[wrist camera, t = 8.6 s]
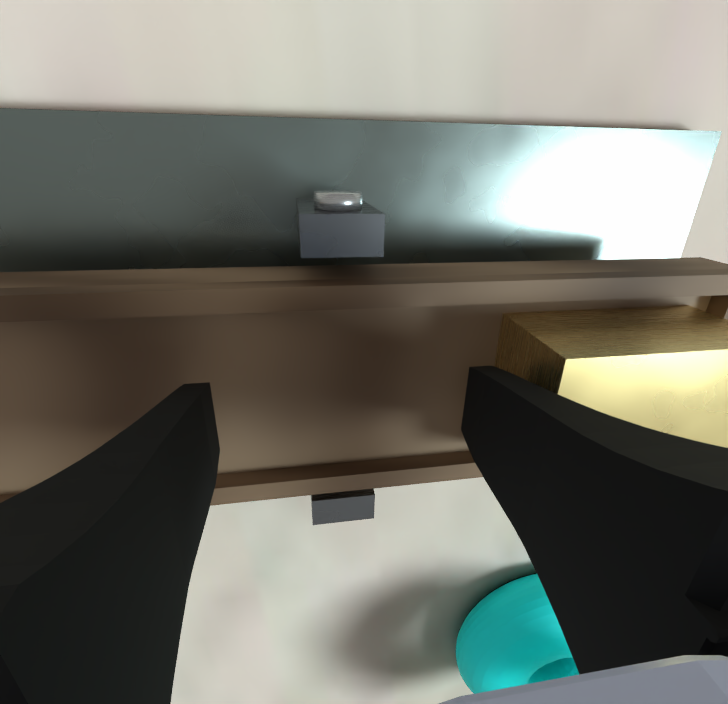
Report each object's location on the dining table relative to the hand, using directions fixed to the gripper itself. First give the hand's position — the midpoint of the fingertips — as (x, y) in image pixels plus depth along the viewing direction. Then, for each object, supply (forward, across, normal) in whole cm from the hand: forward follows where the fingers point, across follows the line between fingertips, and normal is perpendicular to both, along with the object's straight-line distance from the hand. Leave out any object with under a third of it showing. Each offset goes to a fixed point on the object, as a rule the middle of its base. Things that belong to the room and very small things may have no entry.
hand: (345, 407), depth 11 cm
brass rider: (+1, -8, 0) cm, 8 cm away
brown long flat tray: (+2, 0, 0) cm, 2 cm away
